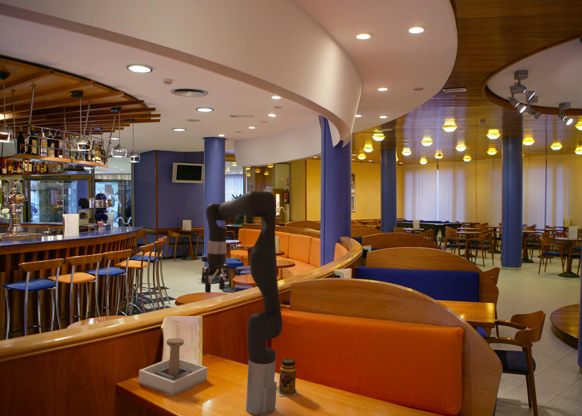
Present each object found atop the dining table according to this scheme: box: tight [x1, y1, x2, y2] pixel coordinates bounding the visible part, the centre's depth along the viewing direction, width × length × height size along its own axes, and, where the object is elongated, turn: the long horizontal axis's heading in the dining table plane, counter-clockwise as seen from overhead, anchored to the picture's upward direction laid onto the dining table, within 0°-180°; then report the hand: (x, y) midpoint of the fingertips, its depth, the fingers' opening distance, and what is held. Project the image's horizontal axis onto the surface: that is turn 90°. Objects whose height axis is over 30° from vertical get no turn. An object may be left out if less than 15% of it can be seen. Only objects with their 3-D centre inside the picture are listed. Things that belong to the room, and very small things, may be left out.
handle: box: [166, 337, 185, 377], centre depth 165 cm, size 5×6×15 cm
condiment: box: [276, 357, 300, 397], centre depth 163 cm, size 7×8×12 cm
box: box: [137, 357, 209, 397], centre depth 166 cm, size 18×18×5 cm
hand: (214, 291), depth 178 cm, fingers open, 8 cm apart
